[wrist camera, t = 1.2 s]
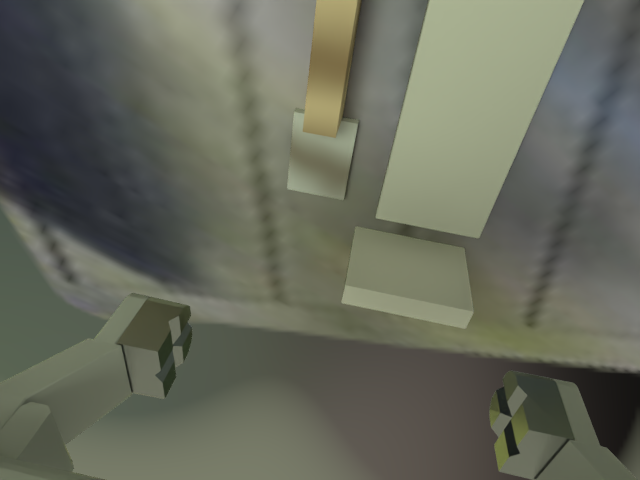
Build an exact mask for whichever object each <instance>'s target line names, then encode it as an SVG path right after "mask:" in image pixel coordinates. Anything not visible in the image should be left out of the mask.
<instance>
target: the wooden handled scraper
mask: <svg viewBox="0 0 640 480" xmlns="http://www.w3.org/2000/svg"><path fill="white" fill-rule="evenodd" d="M361 1H362V0H317V2H316V12H315V21H314V30H313V40H312V49H311V58H310V68H309V77H308V86H307V95H306V105H305V110H302V109H297V108H296V110H295V111H294V119H293V130H292V141H291V152H290V163H289V174H288V184H287V189H289V190H294V191H300V192H305V193H310V194H315V195H320V196H325V197H330V198H335V199H340V200H344V196H345V191H346V186H347V181H348V175H349V170H350V165H351V159H352V154H353V149H354V143H355V138H356V133H357V128H358V122H359V120H356V119H351V118H345V117H343V111H344V105H345V99H346V93H347V87H348V80H349V74H350V68H351V62H352V56H353V50H354V44H355V38H356V32H357V25H358V19H359V13H360V7H361Z"/></svg>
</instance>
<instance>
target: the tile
mask: <svg viewBox="0 0 640 480" xmlns="http://www.w3.org/2000/svg"><path fill="white" fill-rule="evenodd" d="M341 303H344V304H349V305H354V306H358V307H363V308H368V309H373V310H377V311H382V312H387V313H392V314H397V315H401V316H406V317H411V318H416V319H420V320H425V321H430V322H435V323H440V324H444V325H449V326H454V327H459V328H463V329H466V327H467V325H468V323H469V321H470V319H471V317H472V315H473V313H474V309H473V302H472V295H471V289H470V282H469V275H468V269H467V262H466V255H465V249H464V248H462V247H457V246H452V245H447V244H442V243H437V242H432V241H427V240H422V239H417V238H412V237H407V236H402V235H397V234H392V233H387V232H382V231H377V230H372V229H367V228H362V227H357V226H356V227H355V231H354V236H353V240H352V245H351V251H350V257H349V262H348V268H347V274H346V279H345V285H344V291H343V296H342V302H341Z"/></svg>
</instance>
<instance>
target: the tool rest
mask: <svg viewBox="0 0 640 480" xmlns="http://www.w3.org/2000/svg"><path fill="white" fill-rule="evenodd" d="M583 2H584V0H428V4H427V8H426V12H425V16H424V20H423V24H422V28H421V32H420V36H419V40H418V44H417V48H416V52H415V57H414V61H413V65H412V69H411V73H410V77H409V81H408V85H407V89H406V93H405V97H404V101H403V105H402V109H401V113H400V117H399V121H398V125H397V129H396V133H395V137H394V141H393V146H392V150H391V154H390V158H389V162H388V166H387V170H386V174H385V178H384V182H383V186H382V190H381V194H380V198H379V202H378V206H377V210H376V217H375V218H377V219H382V220H387V221H392V222H397V223H402V224H407V225H412V226H418V227H423V228H428V229H433V230H438V231H443V232H448V233H453V234H458V235H463V236H468V237H473V238H478V239H479V237H480V235H481V233H482V231H483V228H484V226H485V224H486V222H487V219H488V217H489V215H490V212H491V210H492V208H493V206H494V203H495V201H496V199H497V197H498V194H499V192H500V190H501V188H502V185H503V183H504V181H505V179H506V176H507V174H508V172H509V169H510V167H511V165H512V163H513V160H514V158H515V156H516V154H517V151H518V149H519V147H520V145H521V142H522V140H523V138H524V136H525V133H526V131H527V129H528V126H529V124H530V122H531V120H532V117H533V115H534V113H535V111H536V108H537V106H538V104H539V102H540V99H541V97H542V95H543V93H544V90H545V88H546V86H547V83H548V81H549V79H550V77H551V74H552V72H553V70H554V68H555V65H556V63H557V61H558V59H559V56H560V54H561V52H562V50H563V47H564V45H565V43H566V40H567V38H568V36H569V34H570V31H571V29H572V27H573V25H574V22H575V20H576V18H577V16H578V13H579V11H580V9H581V7H582V4H583Z"/></svg>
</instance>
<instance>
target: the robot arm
mask: <svg viewBox="0 0 640 480" xmlns="http://www.w3.org/2000/svg"><path fill="white" fill-rule="evenodd" d="M190 316H191V311H190V306H188V305H185V304H180V303H176V302H172V301H167V300H163V299H159V298H154V297H149V296H144V295H140V294H135V293H131V294H130V295H128V296H127V297H126V298H125V299H124V300H123V302H122V303H121V304H120V306H119V307H118V308H117V310H116V311H115V312H114V314H113V315H112V316H111V318H110V319H109V320H108V322H107V323H106V324H105V326H104V327H103V328H102V330H101V331H100V332H99V333H98V335H97V336H96V337H95V339H86V340H84V341H82V342H80V343H78V344H76V345H74V346H72V347H70V348H68V349H66V350H65V351H63V352H60V353H59V354H56V355H54V356H52V357H51V358H49V359H47V360H45V361H43V362H41V363H39V364H37V365H35V366H33V367H31V368H29V369H27V370H25V371H23V372H21V373H19V374H17V375H15V376H13V377H11V378H9V379H7V380H5V381H3V382H1V383H0V480H105V479H100V478H96V477H91V476H87V475H83V474H79V473H74V472H72V471H73V469H74V466H73V462H72V459H71V457H70V455H69V453H68V450H67V448H66V446H65V445H66V444H67V443H69V442H70V441H71V440H73V439H74V438H75V437H77V436H78V435H79V434H81V433H82V432H83V431H85V430H86V429H87V428H89V427H90V426H91V425H93V424H94V423H95V422H97V421H98V420H99V419H101V418H102V417H103V416H104V415H106V414H107V413H108V412H110V411H111V410H112V409H114V408H115V407H117V406H118V405H119V404H121V403H122V402H123V401H124V400H126V399H127V398H128V397H130V396H131V395H132V393H136V394H141V395H146V396H151V397H157V398H162V399H165V398H166V396H167V394H168V392H169V390H170V388H171V386H172V384H173V382H174V380H175V378H176V370H175V368H176V367H177V366H179V365H181V364H182V363H184V361H185V358H186V356H187V354H188V352H189V348H190V345H191V341H192V327H191V326H190V325H189V323H188V320H189V318H190ZM503 384H504V387H503V388H500V389H498V390H496V392H495V393H494V395H493V397H492V399H491V405H490V423H491V428H492V429H493V431H494V432H495V433H496V434H497V436H498V437H499V438H498V440H497V441H496V443H495V445H494V447H495V453H496V459H497V464H498V470H499V472H504V473H507V474H512V475H516V476H520V477H524V478H528V479H532V480H637V479H636V478H635V477H634V475H633V474H632V473H631V472H630V471H629V470H628V469H627V468H626V467H625V466H624V465H623V464H622V463H621V462H620V461H619V460H618V459H617V458H616V457H615V456H614V455H613V454H612V453H611V452H610V451H609V450H608V449H607V448H606V447H601V446H600V445H599V442H598V439H597V437H596V434H595V431H594V429H593V426H592V424H591V421H590V418H589V416H588V413H587V410H586V408H585V405H584V403H583V400H582V398H581V395H580V392H579V390H578V387H577V386H576V385H575V384H574V383H571V382H566V381H561V380H556V379H550V378H547V377H542V376H537V375H532V374H526V373H521V372H516V371H509V372H507V373H506V375H505V376H504V378H503Z"/></svg>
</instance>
